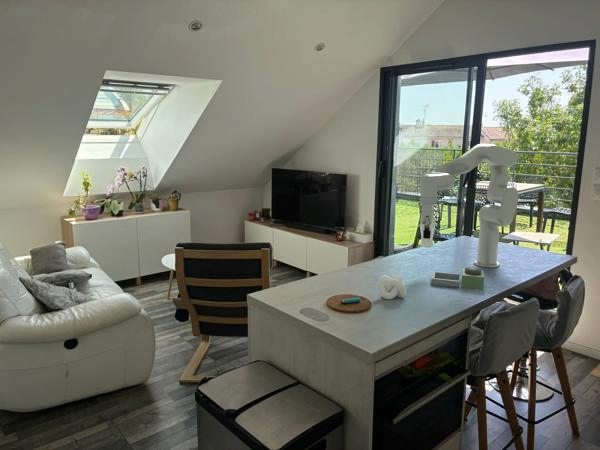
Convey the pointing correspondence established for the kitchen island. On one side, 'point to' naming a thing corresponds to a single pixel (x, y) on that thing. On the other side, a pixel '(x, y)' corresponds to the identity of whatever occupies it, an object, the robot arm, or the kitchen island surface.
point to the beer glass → (430, 241)
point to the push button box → (470, 278)
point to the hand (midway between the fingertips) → (427, 236)
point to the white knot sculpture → (391, 287)
